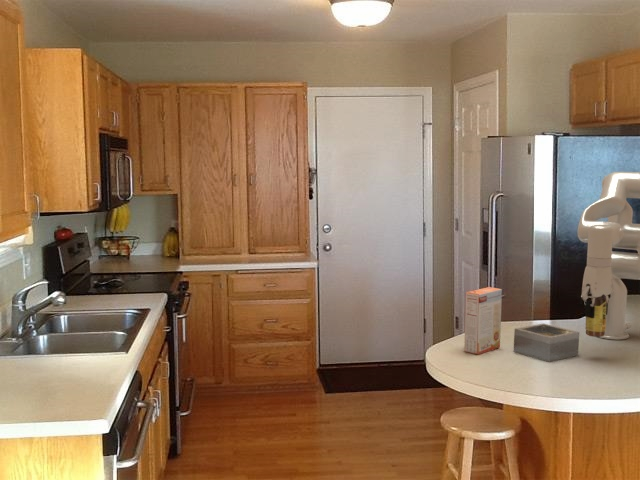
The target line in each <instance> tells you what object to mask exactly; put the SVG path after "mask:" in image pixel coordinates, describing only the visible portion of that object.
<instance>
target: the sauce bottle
mask: <svg viewBox="0 0 640 480" xmlns="http://www.w3.org/2000/svg"><path fill="white" fill-rule="evenodd" d="M590 296H592V295H590ZM589 299H590V301H591V300H592V299H591V298H589ZM606 304H607V300H606V297H605V295H604V294H603V295H602V296H601V297H597V298H596V299H595V302H594V305H593V306H595V313H594V318H589V317H585V334H586V335H587V336H589V337H595V338H600V337H601V336H604V335H605V328H606Z"/></svg>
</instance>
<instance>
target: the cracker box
mask: <svg viewBox="0 0 640 480" xmlns="http://www.w3.org/2000/svg"><path fill="white" fill-rule="evenodd" d="M502 293H503V289H502V288H497V287H492V286H487V287H483V288H480V289H475V290H470V291H466V292H465V312H464V313H465V315H464V348H463V350H464V351H463V352H465V353H470V354H472V355H473V354H474V355H477V356H478V355H481V354H484V353H487V352H489V351H492V350H496V349H499V348H501V329H502V327H501V326H502V300H503V299H502V298H503V296H502Z"/></svg>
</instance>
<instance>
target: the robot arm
mask: <svg viewBox="0 0 640 480" xmlns="http://www.w3.org/2000/svg"><path fill="white" fill-rule="evenodd" d="M601 188H602V189H601V192H600V196H599V199H598V200H596V201H595V202H593V203H591V204H590V205H589V206H587V207H585V209H584V210H583V212H581V216H580V220H579V222H578V227H577V231H576V232H577V238H578V239H579V241H580V242H582V243H585V244H586V243H587V251H586V252H587V253H586V266H585V268H584V273H583V278H582V287H581V295H580V297H581V299H582V301H583V303H584V306H585V308H584V309H585V310H584V316H585V318H586V317H589V318H594V313H595V306H593V305H594V302H595V299H596V298H597V297H601V296H602V295H603V294H604V295H605V297H606V300H607V304H606V328H605V335H604V336H601V337H599V338H600V339H604V340H605V339H606V340H617V341H618V340H627V339H629V337H630V335H629V333H628V332H626V330H629V329H630V328H631V327H632V326H631V324H630V323H626V314H627V299H628V298H627V297H628V289H627V287H626V285H625V283H624V282H623V281H622V279H627V280H636V281H637V280H640V223H633V216H634V215H633V214H634V211H633V208H632V206H631V205H630V203H629V202H628V201H627V199H628V198H630V199H640V171H639V172H638V171H635V172H634V171H613V172H611V173H609V174H607V175H606V176H604V177H603V178H602V181H601ZM606 218H607V221H605V220H604V221H602V220H601V219H606ZM613 249H621V250H622V249H624V250H634V251H637V253H636V252H626V251H613ZM590 295H592V296H590ZM589 298H591V299H592V300H591V301H590V299H589Z"/></svg>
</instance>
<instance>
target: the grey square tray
mask: <svg viewBox="0 0 640 480" xmlns="http://www.w3.org/2000/svg"><path fill="white" fill-rule="evenodd" d="M513 331H514V334H513V352H514V353H517V354H521V355H524V356H527V357H531V358H534V359H538V360H541V361H544V362H548V363H551V362H556V361H560V360H564V359H568V358H573V357H577V355H578V356H579V345H580V331H576V330H571V329H568V328H564V327H560V326H555V325H551V324H547V323H539V324H538V323H537V324H533V325H528V326H523V327H517V328H514V330H513Z"/></svg>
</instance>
